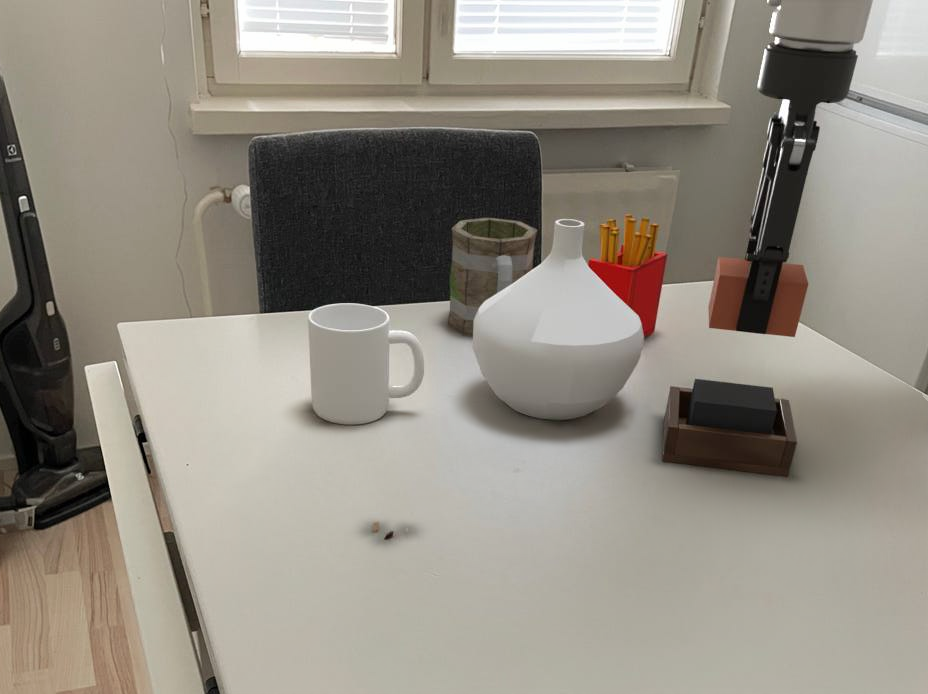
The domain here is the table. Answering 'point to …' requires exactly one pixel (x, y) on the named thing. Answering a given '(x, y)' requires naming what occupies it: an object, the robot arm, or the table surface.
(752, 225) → the robot arm
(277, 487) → the table surface
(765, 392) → the dark gray rectangular block
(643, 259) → the french fries container
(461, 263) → the mug
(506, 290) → the vase
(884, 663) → the table surface
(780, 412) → the frame
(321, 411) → the cup
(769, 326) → the reddish brown rectangular block
